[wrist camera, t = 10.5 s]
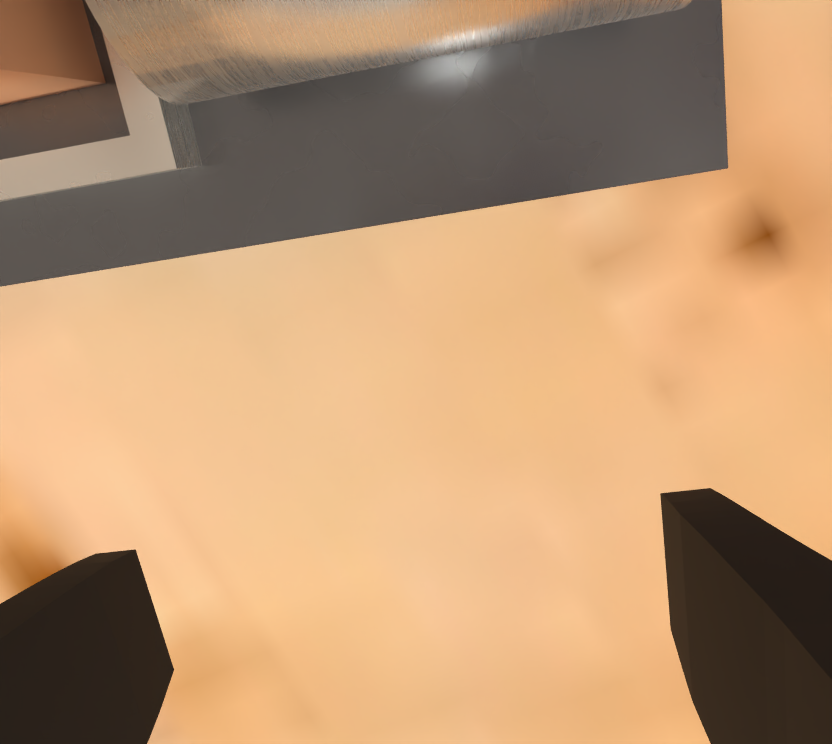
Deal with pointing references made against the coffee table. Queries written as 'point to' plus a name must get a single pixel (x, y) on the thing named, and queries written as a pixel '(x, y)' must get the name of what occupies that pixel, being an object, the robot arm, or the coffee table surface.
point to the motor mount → (347, 120)
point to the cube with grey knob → (45, 49)
